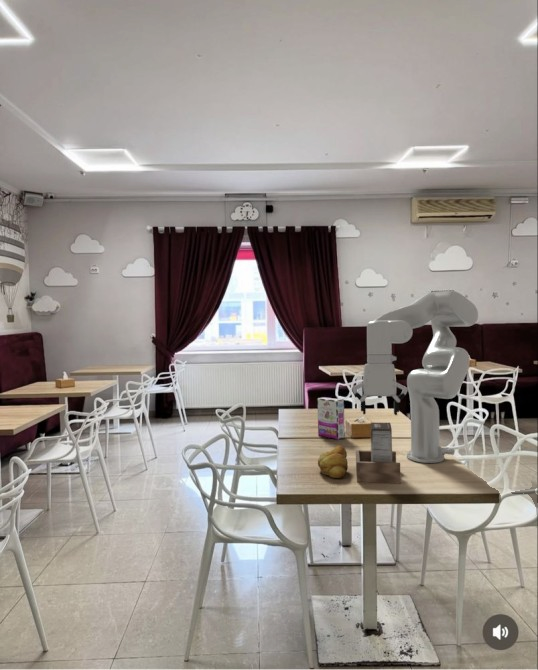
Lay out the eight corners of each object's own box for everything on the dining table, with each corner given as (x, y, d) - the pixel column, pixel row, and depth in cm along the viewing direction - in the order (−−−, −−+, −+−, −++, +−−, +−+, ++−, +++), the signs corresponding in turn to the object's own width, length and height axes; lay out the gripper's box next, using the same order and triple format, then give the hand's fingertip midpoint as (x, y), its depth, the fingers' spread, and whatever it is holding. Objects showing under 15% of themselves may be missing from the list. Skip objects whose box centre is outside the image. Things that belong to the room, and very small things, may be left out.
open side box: (395, 469, 147) (395, 451, 147) (400, 483, 134) (400, 463, 134) (356, 467, 149) (355, 450, 149) (357, 481, 136) (356, 462, 136)
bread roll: (350, 480, 138) (349, 455, 137) (318, 480, 138) (318, 455, 138) (346, 467, 150) (345, 443, 150) (317, 467, 151) (316, 443, 151)
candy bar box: (345, 437, 188) (344, 399, 187) (337, 440, 184) (337, 400, 184) (325, 433, 196) (324, 396, 195) (317, 435, 192) (316, 397, 192)
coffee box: (371, 470, 146) (370, 421, 146) (391, 471, 145) (390, 422, 145) (371, 480, 137) (370, 428, 137) (393, 481, 136) (392, 429, 136)
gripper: (406, 359, 142) (406, 412, 143) (351, 359, 145) (351, 411, 146) (409, 360, 135) (409, 417, 135) (351, 360, 138) (352, 415, 138)
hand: (379, 413), depth 140 cm, fingers open, 9 cm apart
